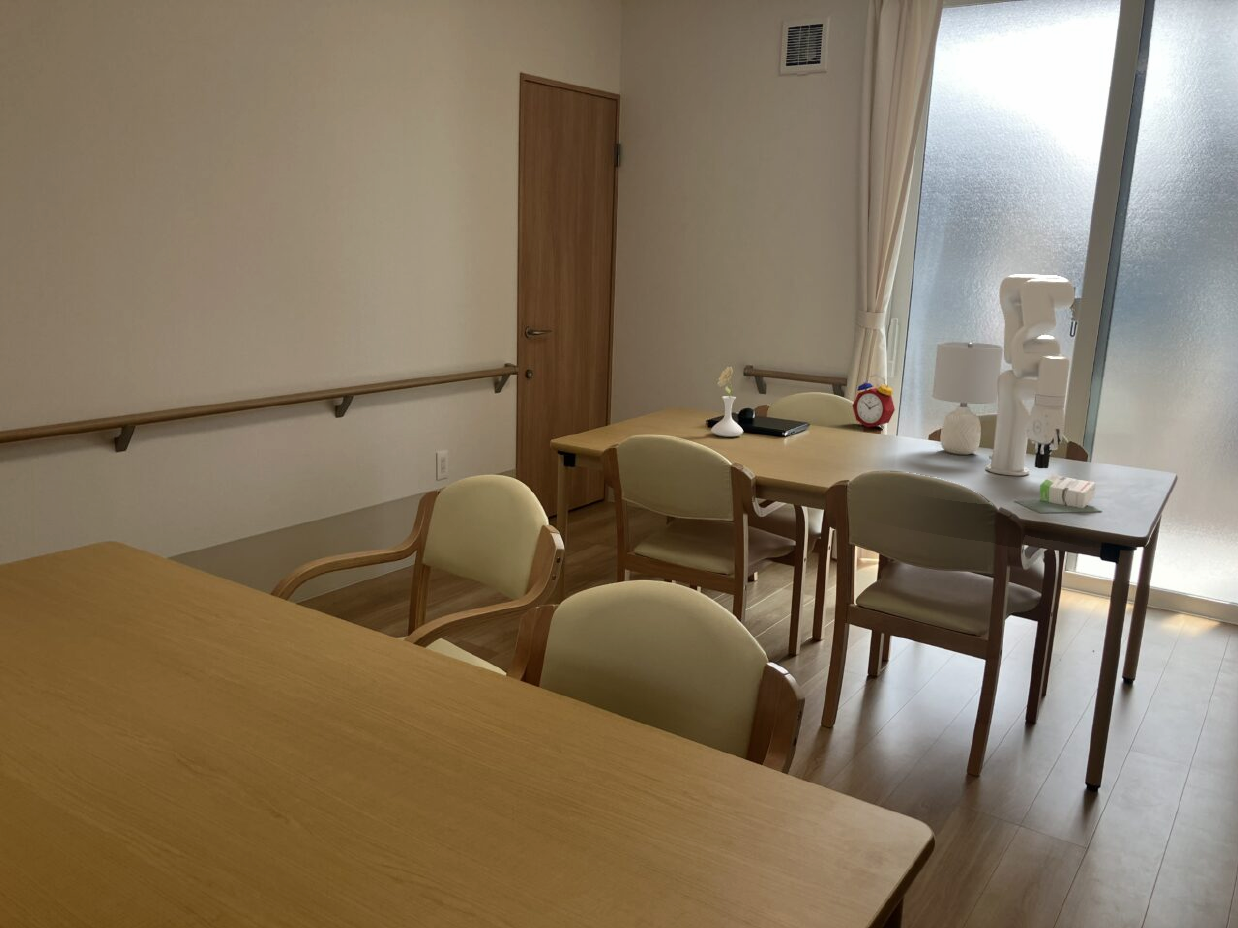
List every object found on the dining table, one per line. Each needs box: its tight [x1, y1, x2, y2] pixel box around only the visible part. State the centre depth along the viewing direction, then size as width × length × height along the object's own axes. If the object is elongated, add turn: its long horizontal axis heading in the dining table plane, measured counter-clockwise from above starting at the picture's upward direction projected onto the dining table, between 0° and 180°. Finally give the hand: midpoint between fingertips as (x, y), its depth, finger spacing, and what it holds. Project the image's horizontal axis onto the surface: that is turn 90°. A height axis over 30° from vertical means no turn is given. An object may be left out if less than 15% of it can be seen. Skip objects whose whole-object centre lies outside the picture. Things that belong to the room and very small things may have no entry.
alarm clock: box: [852, 374, 896, 430], centre depth 377 cm, size 15×9×20 cm, turn 43°
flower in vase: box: [710, 366, 744, 437], centre depth 349 cm, size 13×11×25 cm
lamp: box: [932, 341, 1004, 456], centre depth 331 cm, size 20×20×37 cm
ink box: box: [1038, 474, 1096, 509], centre depth 270 cm, size 9×5×12 cm
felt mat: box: [1013, 499, 1103, 514], centre depth 267 cm, size 12×18×1 cm, turn 100°
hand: (1041, 467), depth 274 cm, fingers closed
